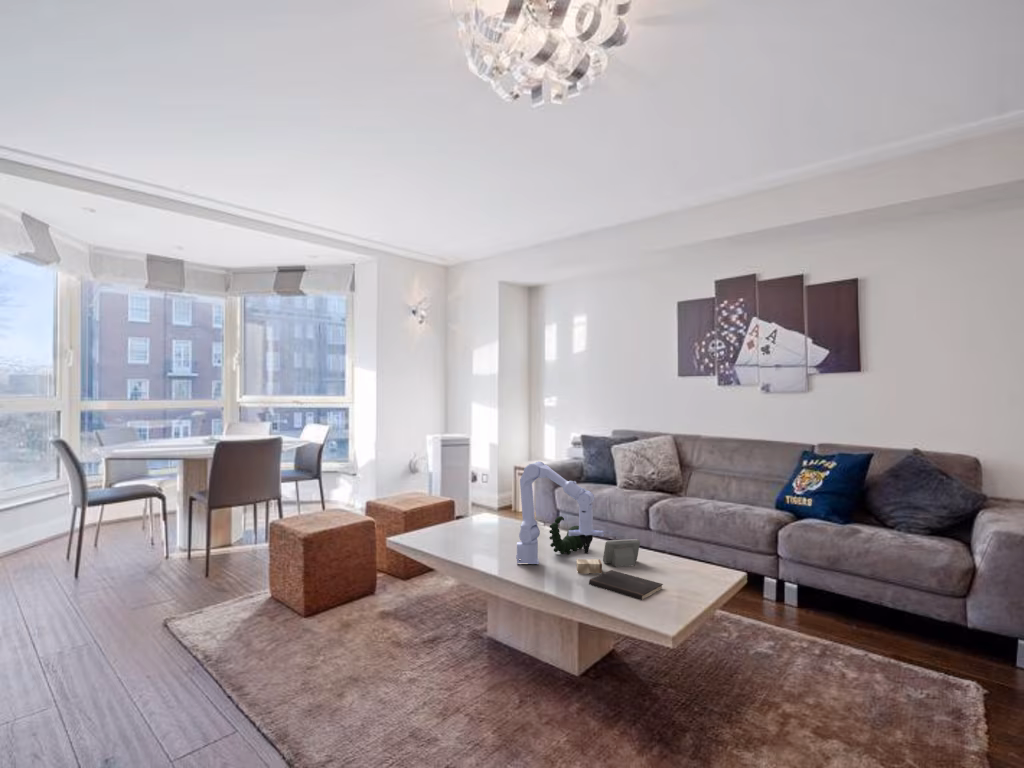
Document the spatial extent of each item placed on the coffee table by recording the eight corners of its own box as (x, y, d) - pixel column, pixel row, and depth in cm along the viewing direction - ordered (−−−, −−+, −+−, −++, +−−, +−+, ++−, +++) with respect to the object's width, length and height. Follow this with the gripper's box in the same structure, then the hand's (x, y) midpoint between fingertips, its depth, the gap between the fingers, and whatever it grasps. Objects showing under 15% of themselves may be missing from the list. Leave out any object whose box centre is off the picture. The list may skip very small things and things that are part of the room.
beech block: (577, 563, 214) (602, 564, 214) (576, 559, 220) (600, 559, 220) (577, 573, 214) (602, 573, 213) (576, 568, 220) (600, 569, 219)
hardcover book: (611, 575, 213) (611, 569, 213) (663, 589, 197) (663, 583, 197) (588, 585, 201) (588, 579, 201) (641, 601, 186) (641, 595, 186)
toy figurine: (561, 562, 233) (595, 546, 250) (559, 521, 232) (593, 507, 249) (546, 558, 239) (579, 542, 257) (543, 517, 239) (577, 504, 256)
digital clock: (637, 560, 231) (637, 536, 231) (642, 567, 222) (642, 542, 222) (601, 560, 231) (601, 536, 231) (604, 567, 222) (604, 542, 222)
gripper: (569, 522, 213) (569, 555, 213) (604, 523, 213) (604, 556, 213) (568, 518, 220) (568, 550, 220) (602, 518, 220) (602, 551, 220)
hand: (585, 553), depth 217 cm, fingers closed
